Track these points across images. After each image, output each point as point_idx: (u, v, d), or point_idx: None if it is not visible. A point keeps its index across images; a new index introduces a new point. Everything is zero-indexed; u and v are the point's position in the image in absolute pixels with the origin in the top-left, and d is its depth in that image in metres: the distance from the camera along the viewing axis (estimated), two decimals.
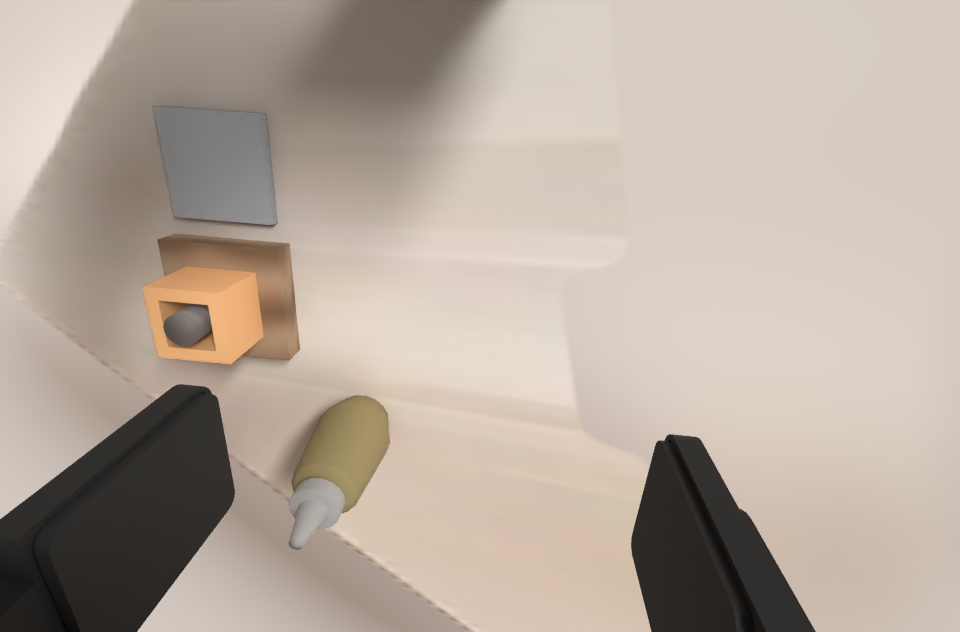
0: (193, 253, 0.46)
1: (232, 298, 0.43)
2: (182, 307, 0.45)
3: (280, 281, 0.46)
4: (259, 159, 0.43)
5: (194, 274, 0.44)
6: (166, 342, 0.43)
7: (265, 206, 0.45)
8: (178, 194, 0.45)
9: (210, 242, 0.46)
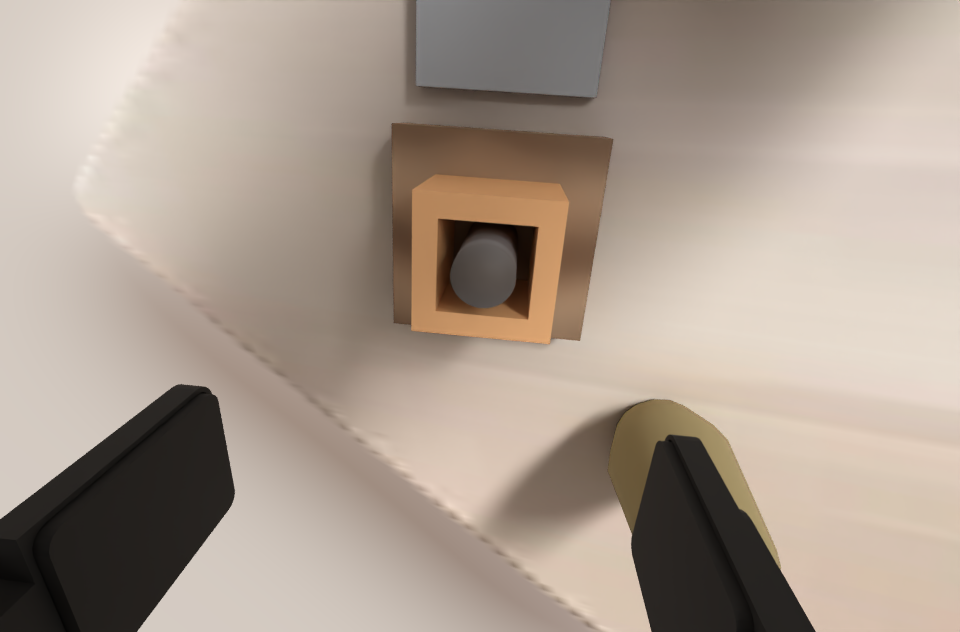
0: (453, 148, 0.26)
1: None
2: (445, 242, 0.25)
3: (602, 200, 0.26)
4: None
5: (468, 181, 0.25)
6: (434, 302, 0.23)
7: (591, 59, 0.25)
8: (433, 40, 0.25)
9: (482, 129, 0.26)
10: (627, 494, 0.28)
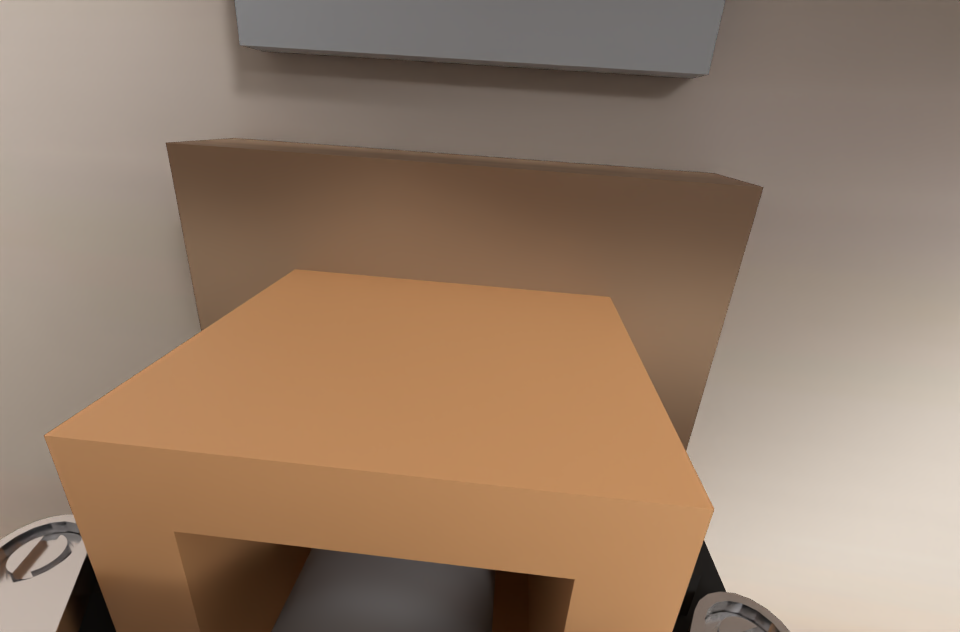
0: (332, 208, 0.10)
1: None
2: None
3: (718, 337, 0.10)
4: None
5: (358, 311, 0.09)
6: None
7: None
8: None
9: (409, 158, 0.10)
10: None
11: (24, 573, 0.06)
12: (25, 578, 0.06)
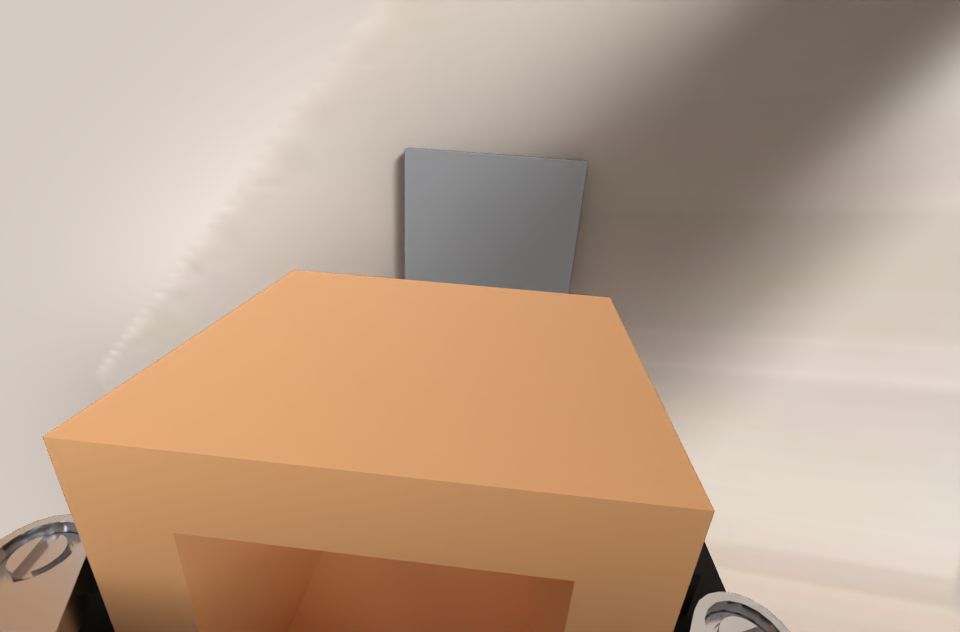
0: None
1: None
2: None
3: None
4: (567, 233, 0.27)
5: (358, 311, 0.09)
6: None
7: None
8: None
9: None
10: None
11: (24, 573, 0.06)
12: (25, 578, 0.06)
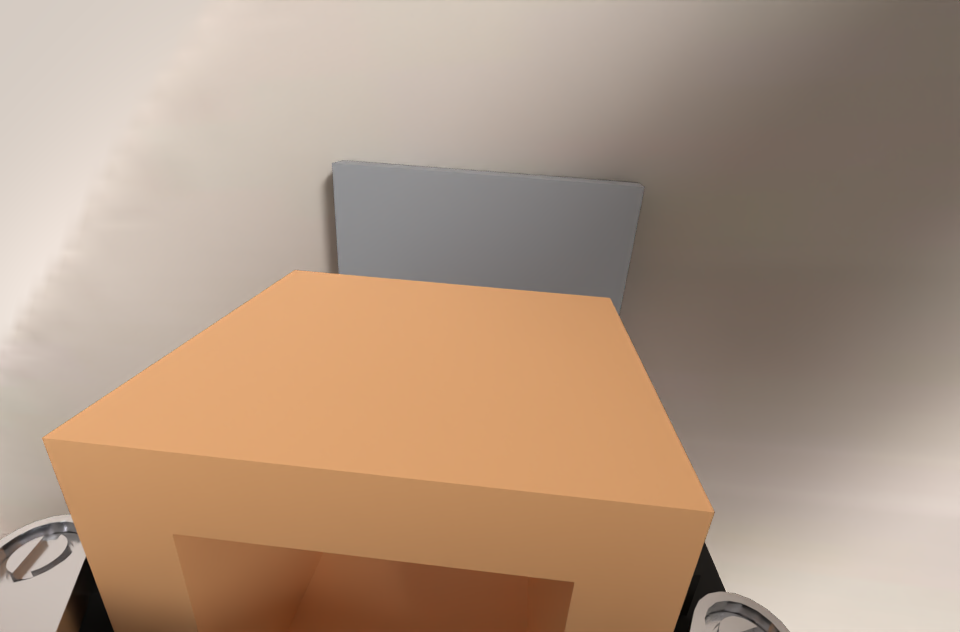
0: None
1: None
2: None
3: None
4: None
5: (358, 312, 0.09)
6: None
7: None
8: None
9: None
10: None
11: (24, 573, 0.06)
12: (25, 578, 0.06)
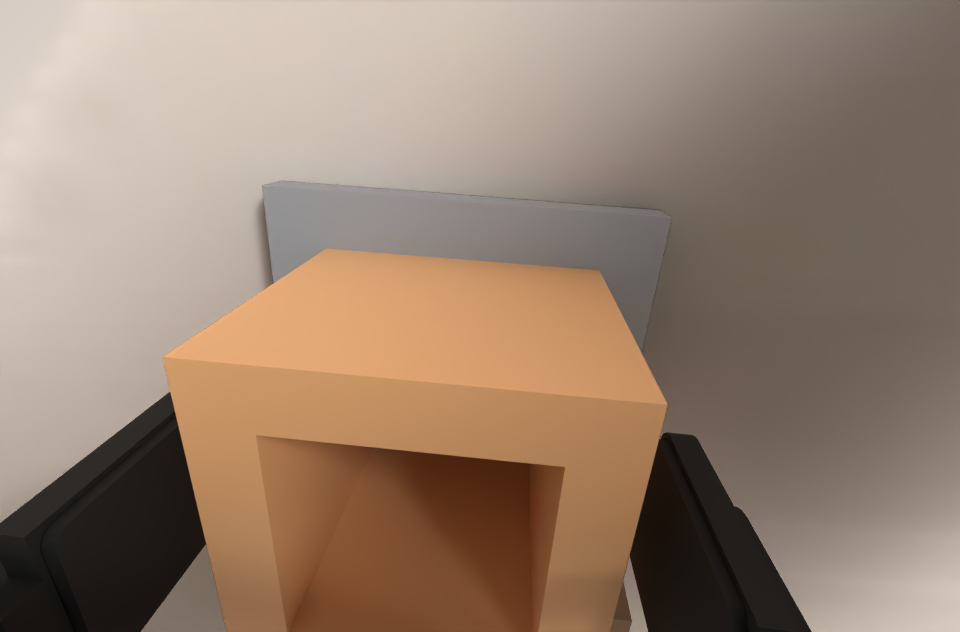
0: None
1: None
2: None
3: None
4: None
5: (385, 279, 0.10)
6: (282, 618, 0.09)
7: None
8: None
9: None
10: None
11: None
12: None
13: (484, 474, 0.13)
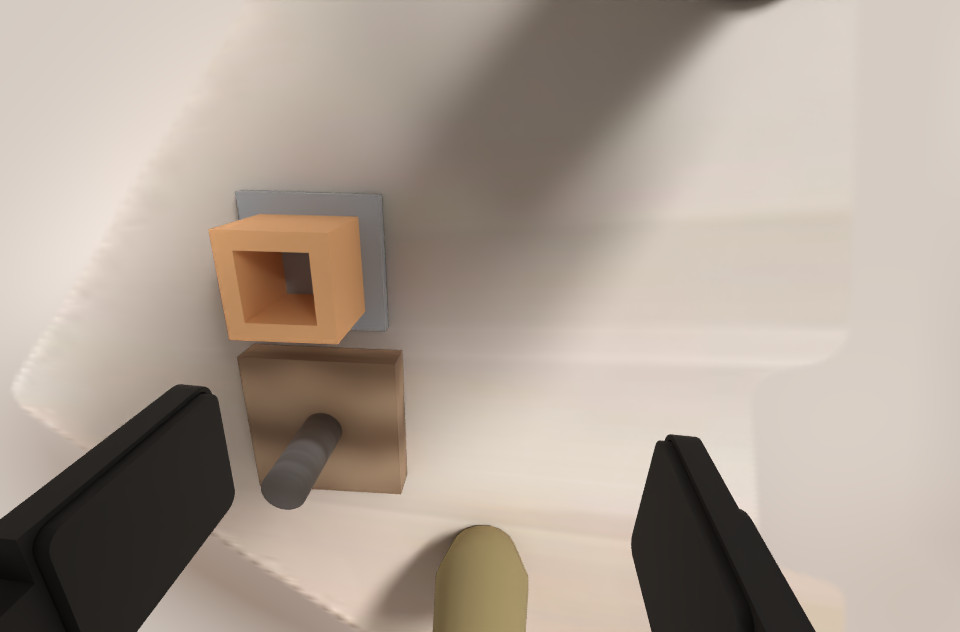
0: (283, 372, 0.35)
1: (339, 245, 0.29)
2: (259, 268, 0.31)
3: (396, 402, 0.36)
4: (373, 252, 0.33)
5: (275, 219, 0.31)
6: (242, 316, 0.29)
7: (376, 308, 0.35)
8: None
9: (305, 357, 0.36)
10: None
11: None
12: None
13: None
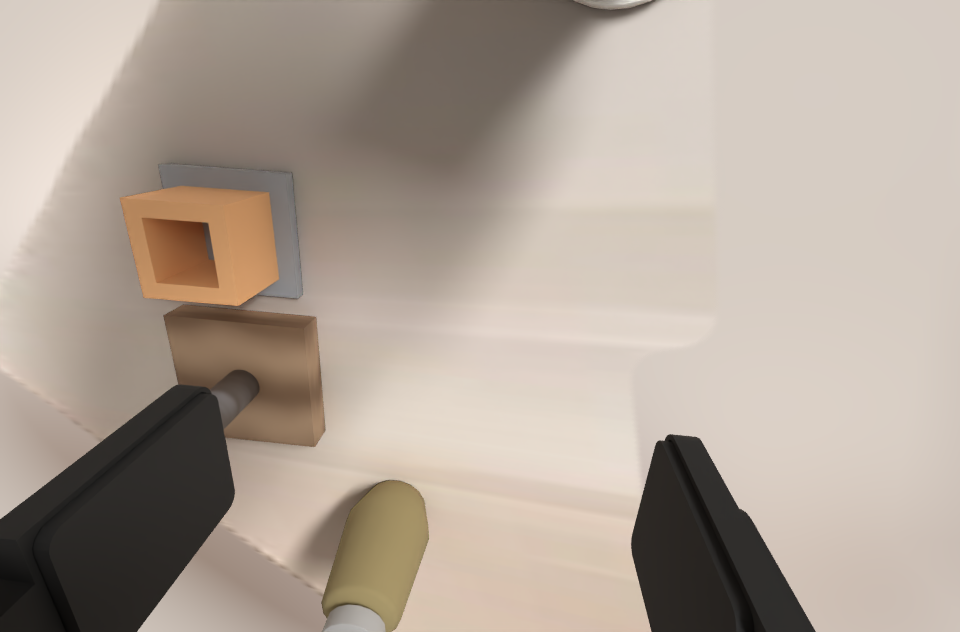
0: (205, 331, 0.39)
1: (240, 217, 0.32)
2: (174, 234, 0.34)
3: (307, 363, 0.40)
4: (284, 225, 0.37)
5: (190, 191, 0.34)
6: (154, 276, 0.33)
7: (289, 277, 0.38)
8: None
9: (225, 318, 0.39)
10: None
11: None
12: None
13: None
